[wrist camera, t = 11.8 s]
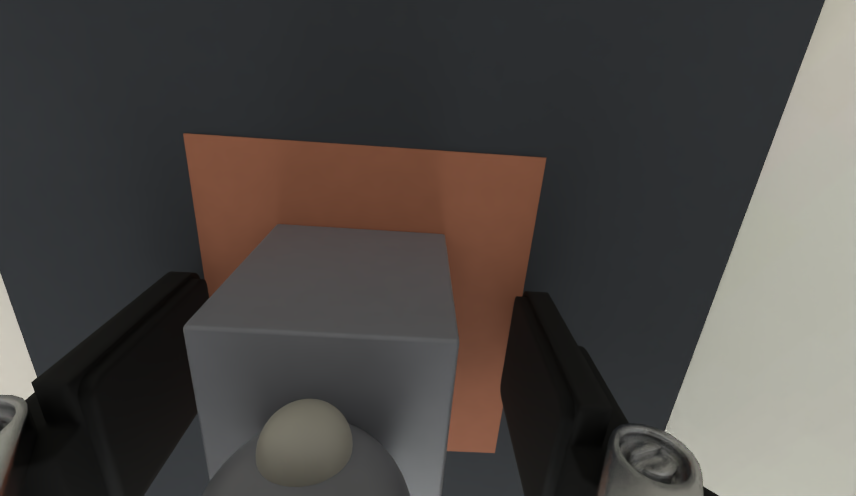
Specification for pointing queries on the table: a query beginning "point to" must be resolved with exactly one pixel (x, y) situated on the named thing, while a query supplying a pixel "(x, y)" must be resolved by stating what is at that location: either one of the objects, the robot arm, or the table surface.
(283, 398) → the grey bear
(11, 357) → the table surface
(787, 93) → the mat
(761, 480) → the table surface
